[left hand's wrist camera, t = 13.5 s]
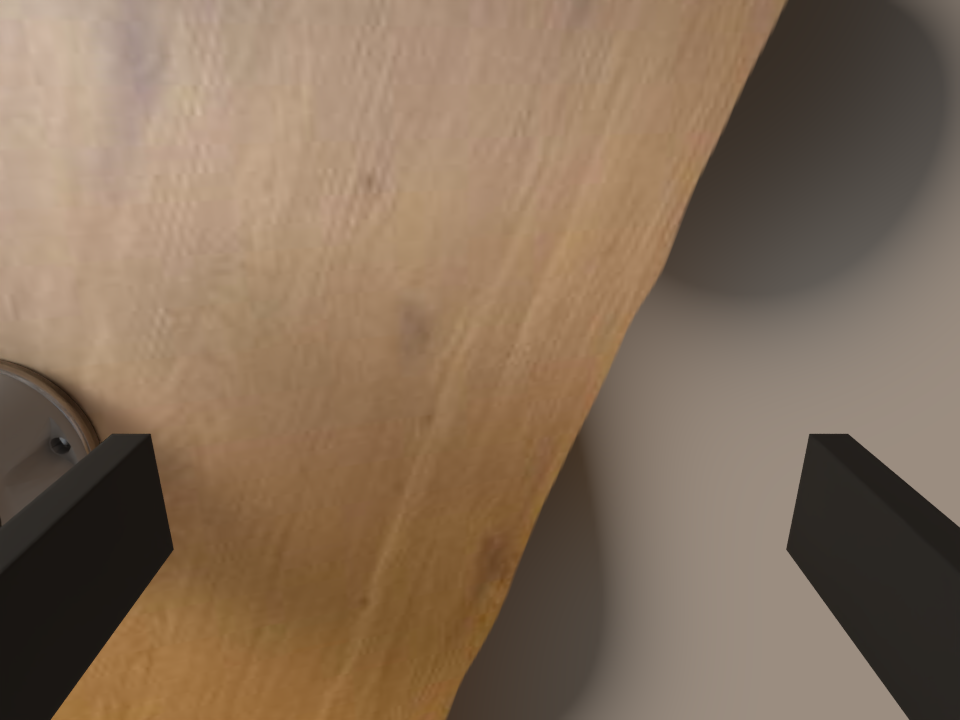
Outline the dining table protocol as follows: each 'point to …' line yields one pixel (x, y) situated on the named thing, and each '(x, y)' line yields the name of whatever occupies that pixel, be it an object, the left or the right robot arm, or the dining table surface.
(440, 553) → the dining table surface
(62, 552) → the left robot arm
